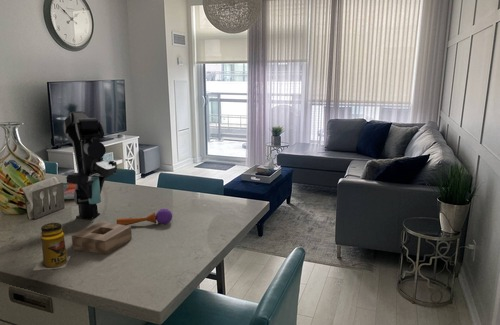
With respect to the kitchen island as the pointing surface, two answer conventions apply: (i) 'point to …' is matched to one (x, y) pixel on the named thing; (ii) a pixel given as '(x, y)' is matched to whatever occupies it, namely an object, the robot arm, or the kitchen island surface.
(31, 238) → the kitchen island surface
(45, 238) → the condiment
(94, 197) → the pin
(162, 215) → the wooden maraca
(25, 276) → the kitchen island surface
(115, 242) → the hole block
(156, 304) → the kitchen island surface
